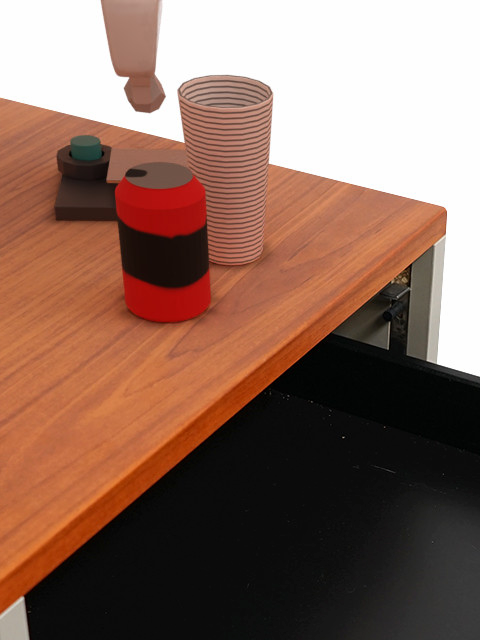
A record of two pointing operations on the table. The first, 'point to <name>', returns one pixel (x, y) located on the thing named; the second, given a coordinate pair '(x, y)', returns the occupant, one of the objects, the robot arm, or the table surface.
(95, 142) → the button
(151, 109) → the polyhedron
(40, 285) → the table surface
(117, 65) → the robot arm
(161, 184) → the soda can
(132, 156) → the pan
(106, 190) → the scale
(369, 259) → the table surface
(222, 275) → the table surface
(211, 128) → the cup
